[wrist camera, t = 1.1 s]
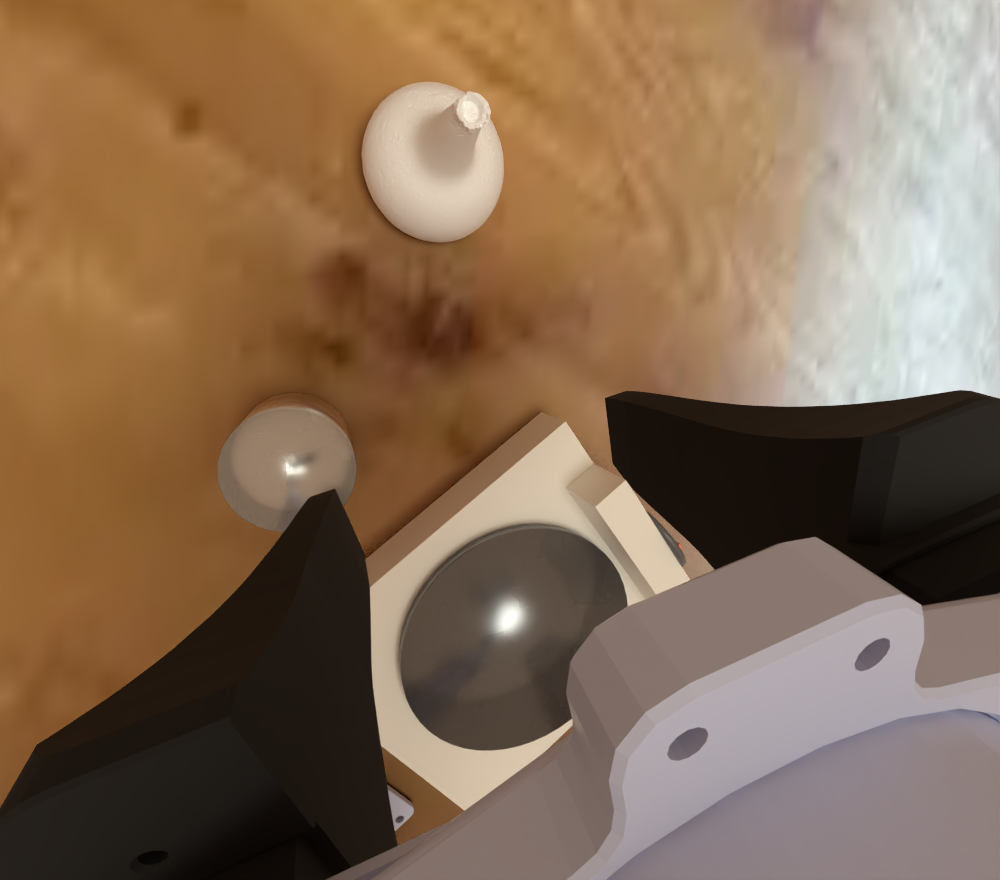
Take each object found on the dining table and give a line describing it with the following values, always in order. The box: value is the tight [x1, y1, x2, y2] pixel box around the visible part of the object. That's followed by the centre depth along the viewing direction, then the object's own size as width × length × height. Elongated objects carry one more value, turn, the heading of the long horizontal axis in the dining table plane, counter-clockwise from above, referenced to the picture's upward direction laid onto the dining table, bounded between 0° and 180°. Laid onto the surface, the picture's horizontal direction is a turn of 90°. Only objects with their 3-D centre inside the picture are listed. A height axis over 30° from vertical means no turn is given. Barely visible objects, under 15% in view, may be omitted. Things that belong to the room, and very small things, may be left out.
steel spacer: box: [217, 393, 356, 532], centre depth 21 cm, size 5×5×5 cm
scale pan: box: [398, 524, 628, 751], centre depth 26 cm, size 13×13×1 cm
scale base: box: [365, 412, 690, 810], centre depth 26 cm, size 18×16×6 cm
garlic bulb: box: [361, 82, 504, 242], centre depth 19 cm, size 6×6×8 cm
